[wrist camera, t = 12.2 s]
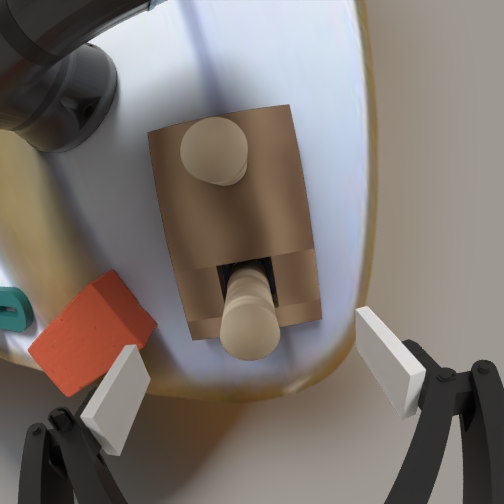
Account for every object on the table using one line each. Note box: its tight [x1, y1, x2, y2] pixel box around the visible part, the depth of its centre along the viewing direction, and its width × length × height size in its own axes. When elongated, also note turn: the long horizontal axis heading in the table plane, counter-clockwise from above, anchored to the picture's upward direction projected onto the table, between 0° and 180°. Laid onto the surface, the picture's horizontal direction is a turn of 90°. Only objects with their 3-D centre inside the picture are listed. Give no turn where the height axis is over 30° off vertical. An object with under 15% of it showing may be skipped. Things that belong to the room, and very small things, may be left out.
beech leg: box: [220, 259, 280, 361], centre depth 25 cm, size 4×4×14 cm
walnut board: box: [147, 104, 322, 340], centre depth 24 cm, size 14×22×14 cm, turn 10°
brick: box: [28, 270, 157, 397], centre depth 31 cm, size 18×9×6 cm, turn 126°
